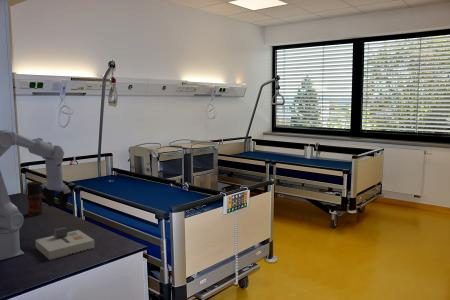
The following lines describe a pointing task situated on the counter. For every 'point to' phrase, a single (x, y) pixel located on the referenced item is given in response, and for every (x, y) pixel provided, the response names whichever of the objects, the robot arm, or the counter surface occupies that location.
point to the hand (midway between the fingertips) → (57, 207)
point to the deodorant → (34, 198)
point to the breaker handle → (60, 232)
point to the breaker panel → (64, 244)
